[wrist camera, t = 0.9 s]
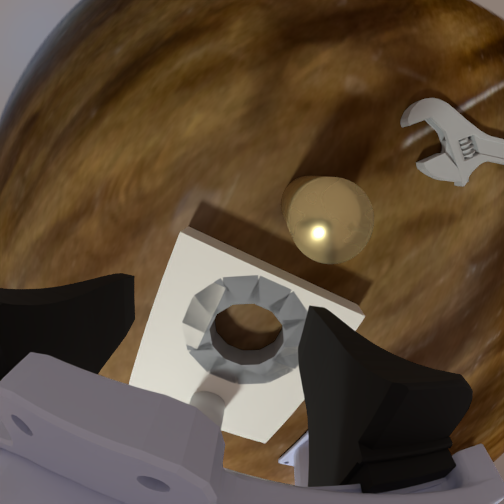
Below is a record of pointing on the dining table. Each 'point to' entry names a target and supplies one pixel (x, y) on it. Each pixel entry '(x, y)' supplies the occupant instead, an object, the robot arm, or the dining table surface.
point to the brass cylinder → (327, 217)
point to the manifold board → (216, 349)
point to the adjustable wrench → (453, 142)
